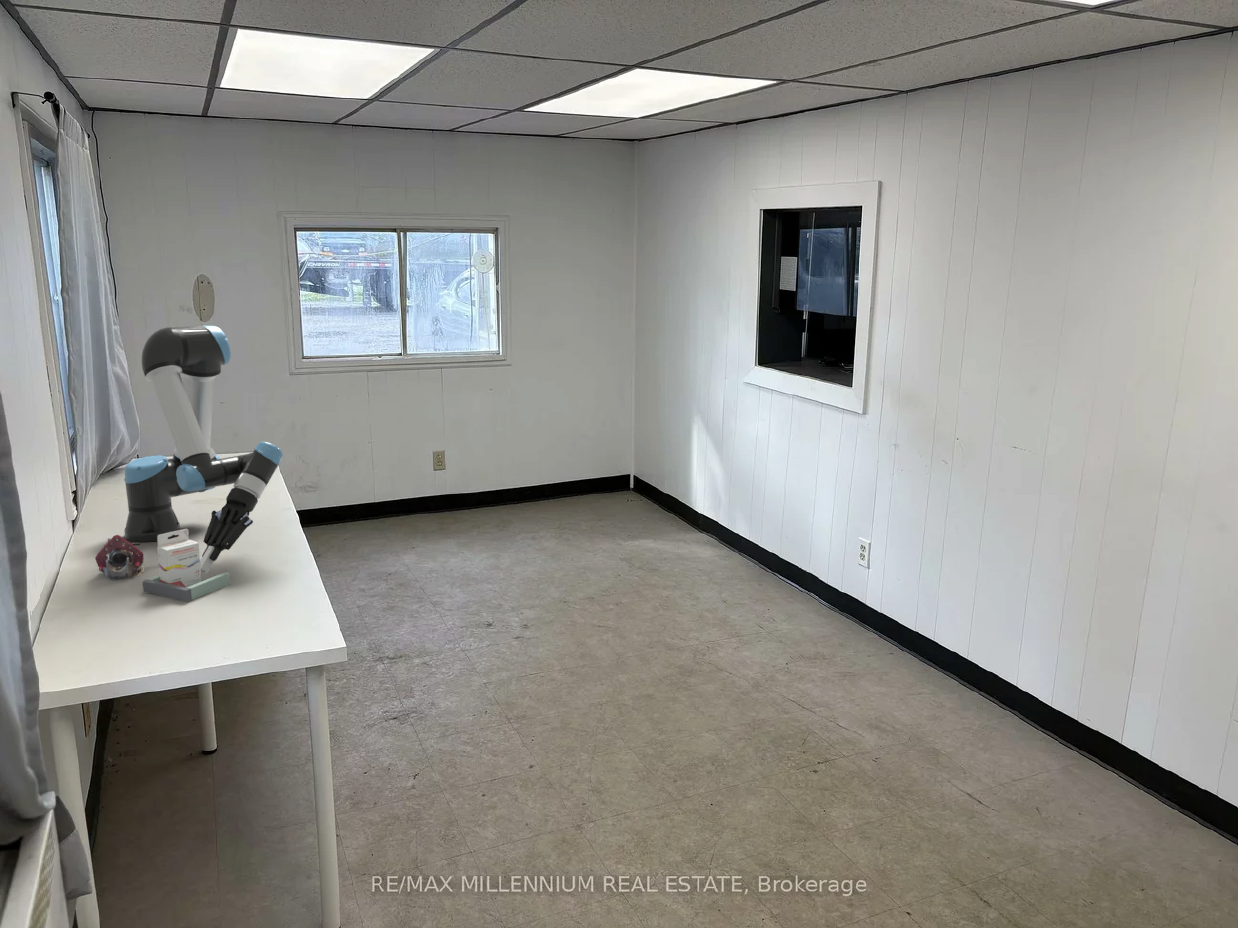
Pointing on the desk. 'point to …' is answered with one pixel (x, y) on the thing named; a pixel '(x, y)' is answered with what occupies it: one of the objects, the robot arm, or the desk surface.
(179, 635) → the desk surface
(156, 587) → the cartridge dock
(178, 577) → the ink cartridge box
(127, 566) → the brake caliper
